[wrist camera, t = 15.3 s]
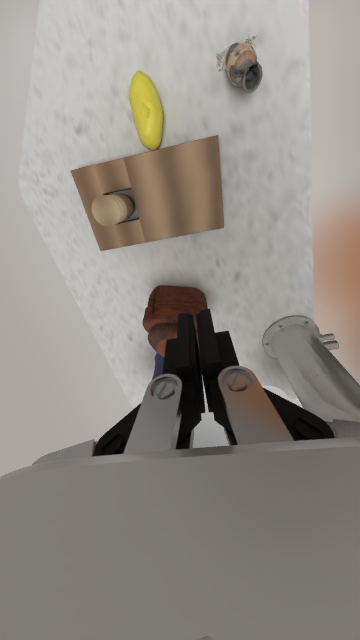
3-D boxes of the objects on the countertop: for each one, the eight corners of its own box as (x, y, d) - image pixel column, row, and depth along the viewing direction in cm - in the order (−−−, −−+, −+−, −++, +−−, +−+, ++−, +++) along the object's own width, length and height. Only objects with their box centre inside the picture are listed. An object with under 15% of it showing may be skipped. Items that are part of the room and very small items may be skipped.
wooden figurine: (152, 308, 47) (136, 365, 32) (152, 281, 44) (136, 331, 29) (204, 312, 48) (214, 371, 32) (209, 286, 44) (222, 338, 29)
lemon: (140, 153, 33) (135, 149, 30) (128, 79, 29) (121, 65, 25) (167, 150, 33) (165, 146, 29) (159, 74, 28) (156, 60, 25)
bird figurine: (262, 94, 29) (274, 78, 24) (223, 113, 31) (227, 101, 26) (257, 37, 26) (270, 5, 22) (214, 59, 28) (217, 35, 23)
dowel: (133, 191, 35) (114, 192, 26) (139, 214, 37) (123, 223, 28) (112, 196, 36) (86, 198, 27) (119, 219, 38) (98, 229, 28)
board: (215, 139, 32) (217, 135, 29) (221, 224, 38) (224, 227, 35) (79, 171, 34) (70, 170, 32) (105, 247, 40) (100, 251, 38)
